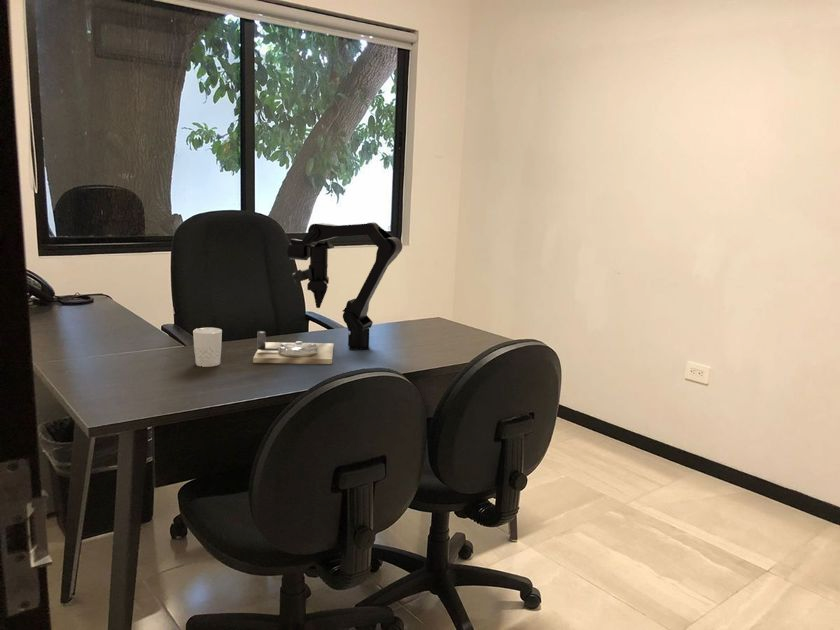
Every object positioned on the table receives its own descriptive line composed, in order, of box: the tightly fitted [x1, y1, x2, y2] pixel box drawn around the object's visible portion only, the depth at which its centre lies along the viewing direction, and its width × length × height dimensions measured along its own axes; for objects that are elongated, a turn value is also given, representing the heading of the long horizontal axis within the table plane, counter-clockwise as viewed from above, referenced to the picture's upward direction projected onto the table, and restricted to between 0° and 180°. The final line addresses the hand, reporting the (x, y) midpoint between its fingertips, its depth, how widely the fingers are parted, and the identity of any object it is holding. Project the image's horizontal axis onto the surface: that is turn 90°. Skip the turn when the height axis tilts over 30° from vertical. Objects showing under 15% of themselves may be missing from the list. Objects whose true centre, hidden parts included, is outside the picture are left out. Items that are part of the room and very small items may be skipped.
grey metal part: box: [256, 330, 318, 357], centre depth 197 cm, size 18×12×6 cm, turn 98°
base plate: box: [252, 341, 334, 365], centre depth 201 cm, size 23×20×2 cm
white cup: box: [192, 327, 223, 368], centre depth 186 cm, size 8×8×10 cm
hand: (318, 307), depth 217 cm, fingers closed
